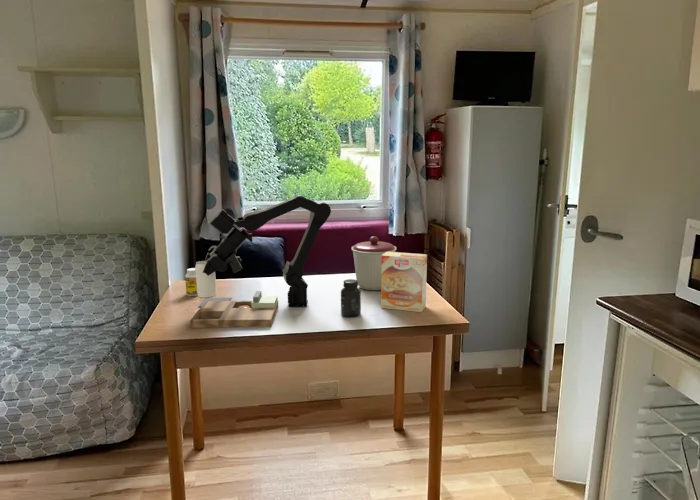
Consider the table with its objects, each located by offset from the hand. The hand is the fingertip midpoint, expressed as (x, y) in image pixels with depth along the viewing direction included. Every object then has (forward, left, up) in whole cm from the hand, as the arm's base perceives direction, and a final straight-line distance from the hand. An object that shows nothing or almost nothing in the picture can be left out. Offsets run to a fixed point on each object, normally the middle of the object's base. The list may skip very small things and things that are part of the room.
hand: (201, 276), depth 181 cm
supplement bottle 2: (-51, +4, -13) cm, 53 cm away
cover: (-21, -1, -11) cm, 24 cm away
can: (-2, +1, -7) cm, 7 cm away
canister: (-61, -29, -13) cm, 69 cm away
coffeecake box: (-70, -3, -13) cm, 72 cm away
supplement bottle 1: (+10, -22, -13) cm, 28 cm away
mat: (-1, -11, -13) cm, 17 cm away
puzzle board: (-12, +5, -13) cm, 19 cm away
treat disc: (-14, -1, -13) cm, 19 cm away
